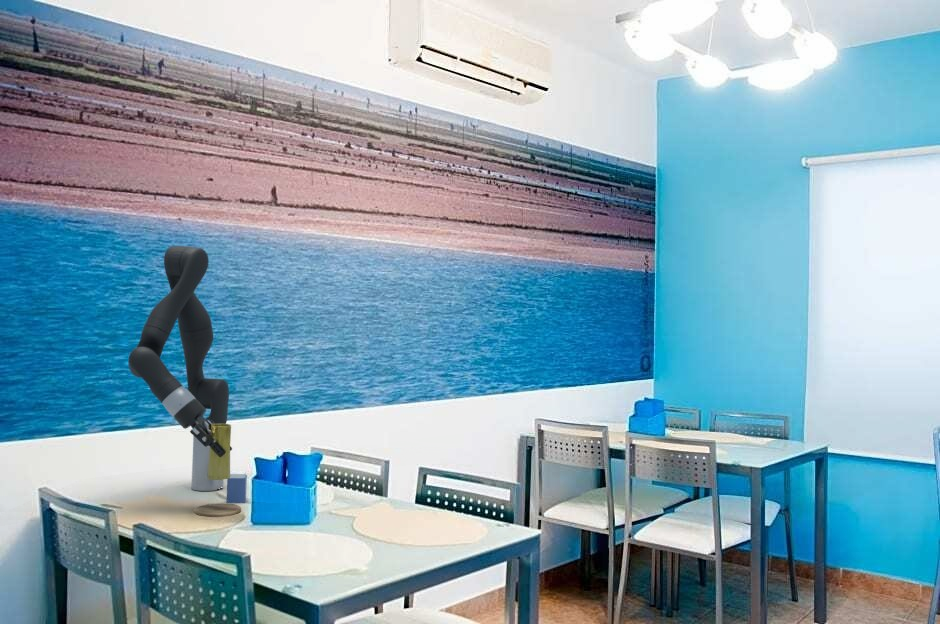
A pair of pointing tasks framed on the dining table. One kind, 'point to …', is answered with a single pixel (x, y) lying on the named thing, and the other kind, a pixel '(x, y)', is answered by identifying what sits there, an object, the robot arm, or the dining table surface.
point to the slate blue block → (236, 487)
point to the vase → (216, 464)
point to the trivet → (217, 509)
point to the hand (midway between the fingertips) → (226, 453)
